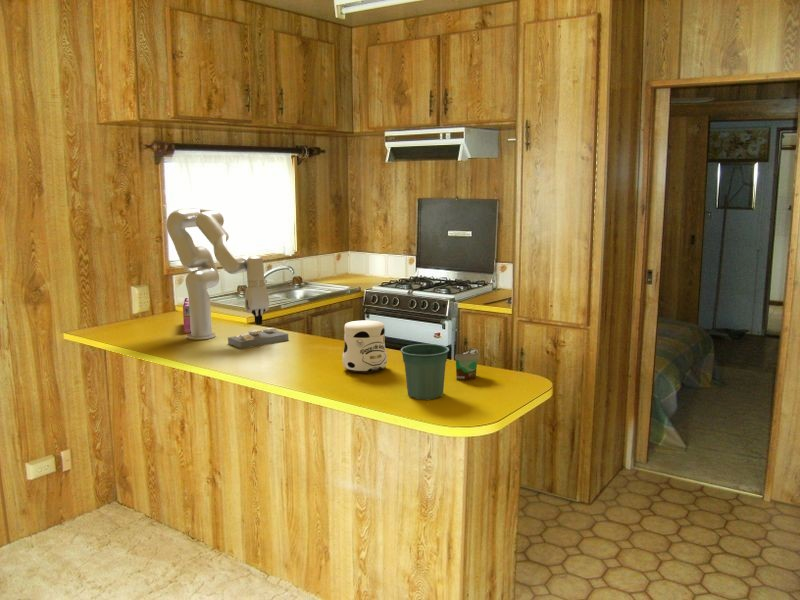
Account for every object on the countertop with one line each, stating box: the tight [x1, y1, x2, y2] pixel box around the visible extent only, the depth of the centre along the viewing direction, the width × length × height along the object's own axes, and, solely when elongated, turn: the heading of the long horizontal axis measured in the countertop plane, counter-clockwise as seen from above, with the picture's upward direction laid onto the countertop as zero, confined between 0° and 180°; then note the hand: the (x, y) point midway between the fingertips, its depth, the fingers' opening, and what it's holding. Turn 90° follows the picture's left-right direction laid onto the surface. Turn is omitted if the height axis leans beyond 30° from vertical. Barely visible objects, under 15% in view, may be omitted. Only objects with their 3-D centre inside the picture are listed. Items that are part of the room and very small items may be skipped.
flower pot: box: [400, 343, 450, 401], centre depth 242 cm, size 16×16×16 cm
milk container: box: [341, 320, 388, 374], centre depth 274 cm, size 17×17×18 cm
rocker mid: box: [247, 329, 263, 334], centre depth 324 cm, size 6×4×2 cm, turn 40°
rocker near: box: [239, 332, 254, 341], centre depth 315 cm, size 6×4×2 cm, turn 40°
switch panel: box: [227, 329, 289, 350], centre depth 322 cm, size 12×24×3 cm, turn 130°
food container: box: [454, 347, 480, 382], centre depth 262 cm, size 12×6×10 cm, turn 148°
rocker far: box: [262, 327, 277, 332], centre depth 329 cm, size 6×4×2 cm, turn 40°
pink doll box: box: [182, 297, 191, 334], centre depth 353 cm, size 24×8×14 cm, turn 14°
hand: (258, 324), depth 321 cm, fingers closed
